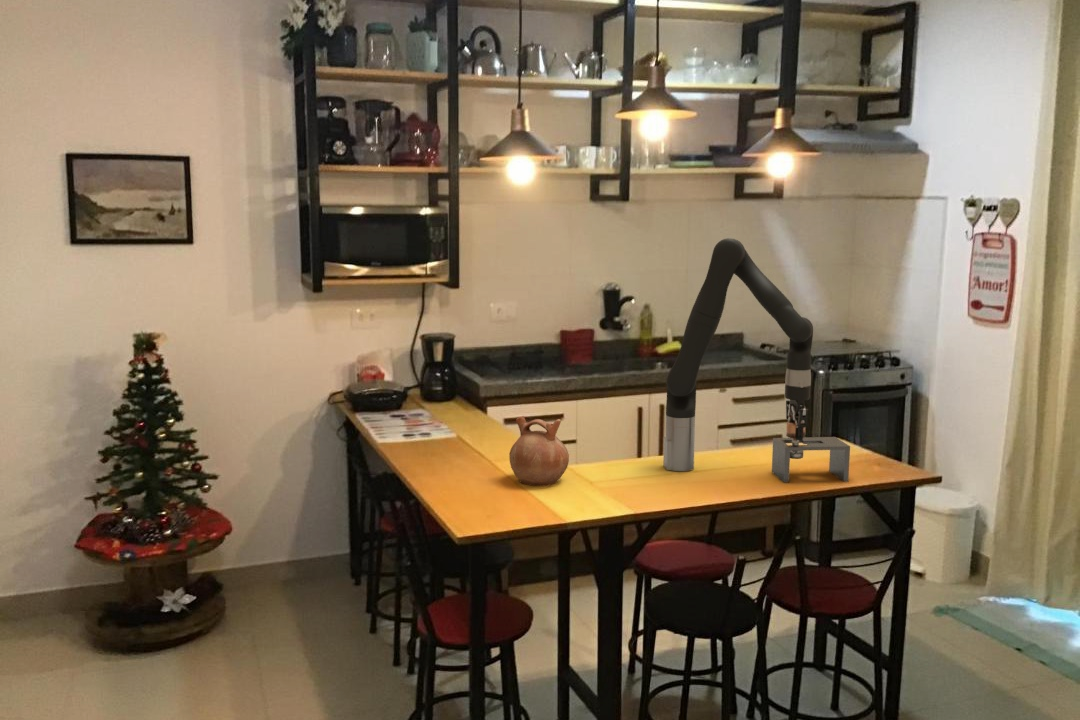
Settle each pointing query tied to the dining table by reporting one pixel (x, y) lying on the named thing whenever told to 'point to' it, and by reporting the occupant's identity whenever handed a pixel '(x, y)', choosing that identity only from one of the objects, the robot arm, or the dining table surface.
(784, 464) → the keyhole bridge
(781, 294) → the robot arm
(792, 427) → the keyhole peg
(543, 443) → the jug
